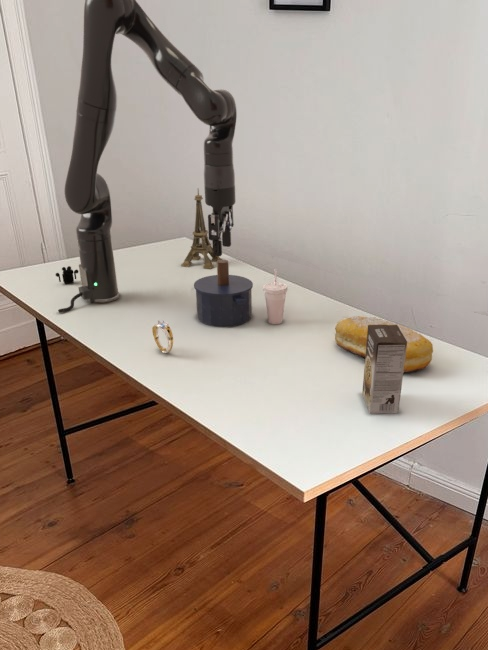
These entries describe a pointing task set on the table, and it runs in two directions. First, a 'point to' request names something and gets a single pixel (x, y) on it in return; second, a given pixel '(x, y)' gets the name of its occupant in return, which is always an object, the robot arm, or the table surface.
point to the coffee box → (384, 368)
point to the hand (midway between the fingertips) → (222, 250)
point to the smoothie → (275, 300)
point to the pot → (224, 309)
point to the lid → (223, 282)
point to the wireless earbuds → (67, 275)
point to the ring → (165, 327)
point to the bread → (355, 328)
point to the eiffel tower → (196, 246)
